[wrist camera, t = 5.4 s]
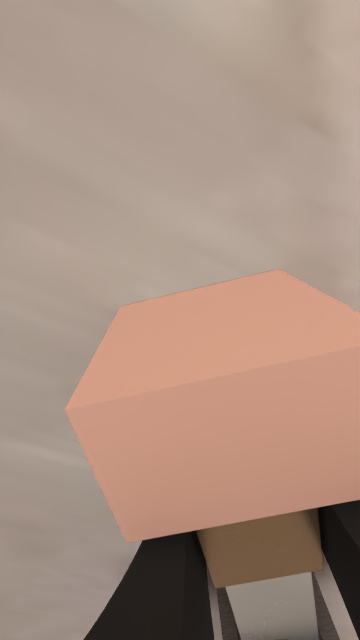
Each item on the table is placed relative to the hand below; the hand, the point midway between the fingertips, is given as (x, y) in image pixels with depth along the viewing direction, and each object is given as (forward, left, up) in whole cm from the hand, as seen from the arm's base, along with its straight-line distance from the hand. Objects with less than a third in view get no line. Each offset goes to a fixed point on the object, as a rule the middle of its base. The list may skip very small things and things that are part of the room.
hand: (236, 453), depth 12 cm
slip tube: (-4, 0, 0) cm, 4 cm away
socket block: (+5, 0, -3) cm, 5 cm away
